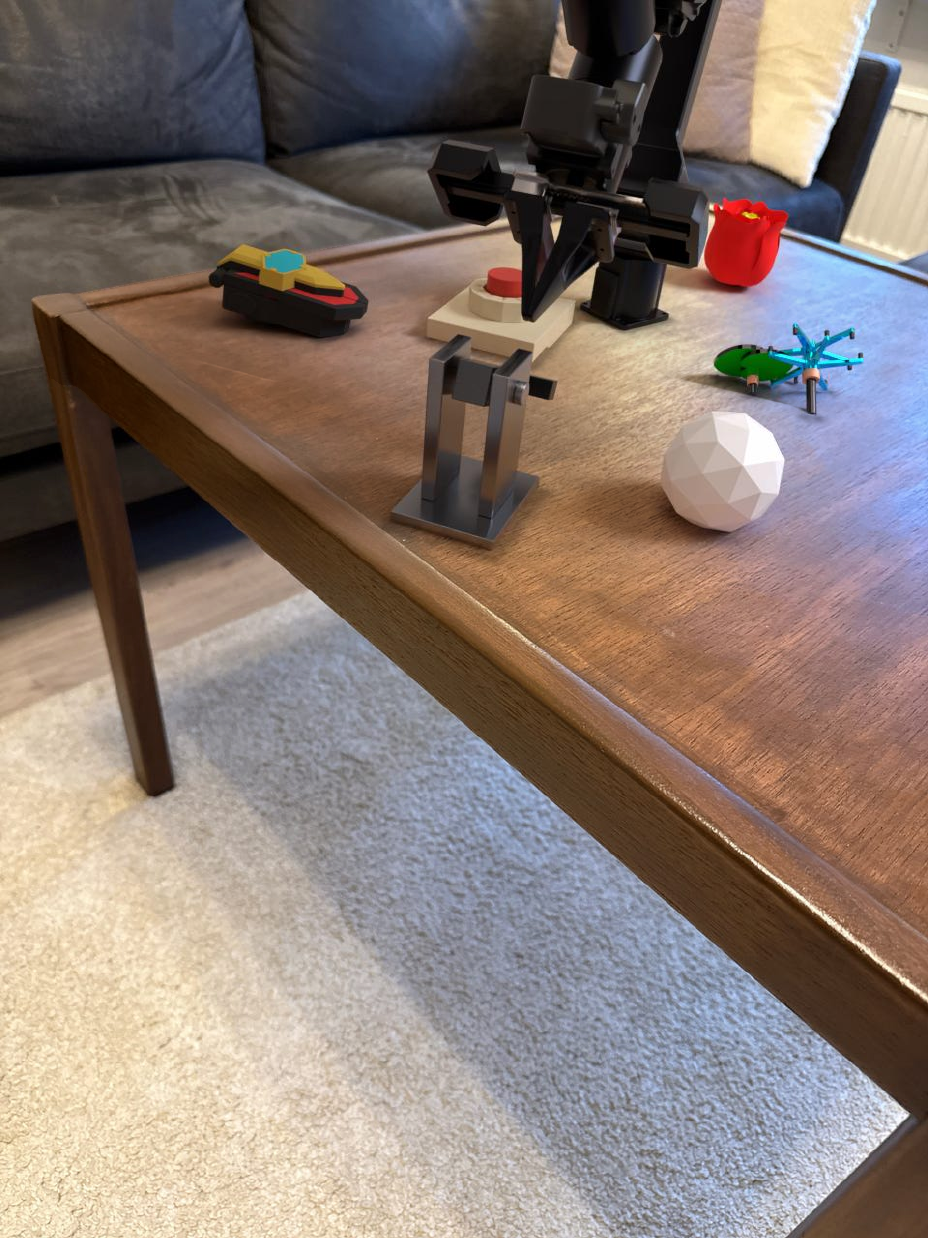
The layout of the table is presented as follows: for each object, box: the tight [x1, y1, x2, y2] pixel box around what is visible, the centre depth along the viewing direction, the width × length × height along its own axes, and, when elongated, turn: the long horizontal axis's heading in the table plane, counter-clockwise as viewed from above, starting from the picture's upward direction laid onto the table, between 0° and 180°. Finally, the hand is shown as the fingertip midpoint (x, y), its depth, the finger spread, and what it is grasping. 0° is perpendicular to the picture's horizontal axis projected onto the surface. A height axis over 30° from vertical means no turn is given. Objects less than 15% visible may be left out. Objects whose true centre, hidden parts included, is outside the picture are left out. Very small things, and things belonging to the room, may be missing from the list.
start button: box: [486, 266, 522, 298], centre depth 85 cm, size 4×4×2 cm
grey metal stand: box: [390, 334, 541, 551], centre depth 60 cm, size 9×7×11 cm
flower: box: [703, 197, 789, 288], centre depth 101 cm, size 8×8×8 cm
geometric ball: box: [659, 410, 786, 533], centre depth 62 cm, size 8×8×8 cm
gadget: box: [208, 243, 370, 338], centre depth 84 cm, size 6×13×6 cm, turn 78°
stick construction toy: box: [713, 323, 864, 416], centre depth 80 cm, size 12×7×8 cm
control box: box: [425, 276, 577, 363], centre depth 86 cm, size 12×10×4 cm
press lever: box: [451, 358, 558, 408], centre depth 61 cm, size 11×5×2 cm, turn 158°
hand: (527, 318), depth 63 cm, fingers closed
